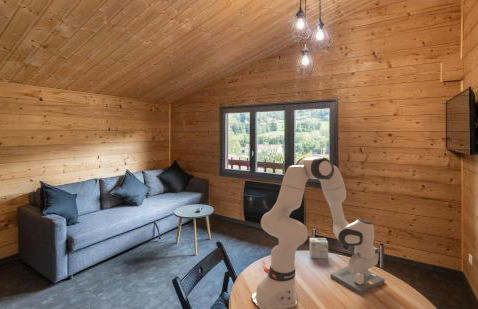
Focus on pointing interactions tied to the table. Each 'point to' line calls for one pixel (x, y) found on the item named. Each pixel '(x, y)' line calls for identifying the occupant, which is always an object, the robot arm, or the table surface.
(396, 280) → the table surface
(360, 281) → the block
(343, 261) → the table surface
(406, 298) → the table surface
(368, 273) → the panel
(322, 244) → the light bulb box
